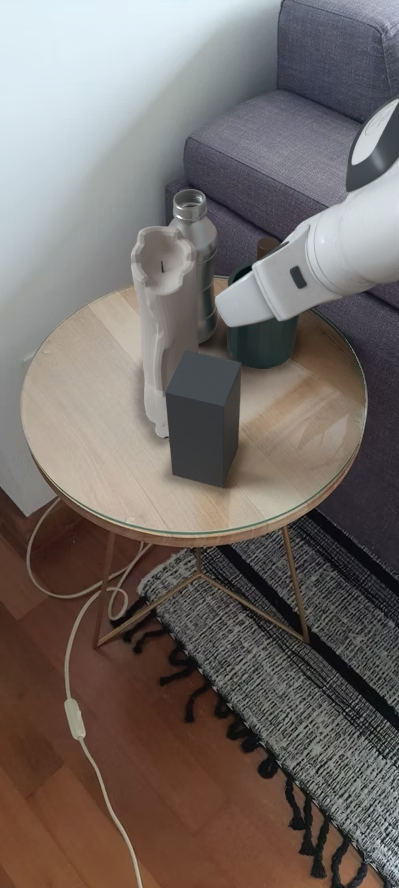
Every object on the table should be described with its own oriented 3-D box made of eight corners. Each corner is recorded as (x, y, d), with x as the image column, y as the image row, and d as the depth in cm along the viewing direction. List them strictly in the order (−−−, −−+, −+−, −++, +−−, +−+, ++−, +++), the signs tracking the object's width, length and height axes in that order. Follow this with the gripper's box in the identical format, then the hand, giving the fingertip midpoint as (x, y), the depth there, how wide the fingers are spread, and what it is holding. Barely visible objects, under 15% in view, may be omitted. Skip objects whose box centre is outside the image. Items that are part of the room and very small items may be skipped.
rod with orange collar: (260, 319, 90) (265, 228, 79) (284, 333, 89) (293, 241, 78) (240, 335, 89) (243, 244, 78) (264, 350, 87) (271, 258, 76)
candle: (143, 439, 81) (125, 308, 65) (144, 355, 89) (128, 221, 73) (204, 436, 81) (201, 305, 65) (200, 352, 89) (196, 218, 73)
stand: (238, 447, 80) (241, 362, 69) (223, 488, 76) (224, 406, 65) (189, 435, 81) (185, 349, 70) (172, 475, 77) (164, 391, 66)
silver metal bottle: (161, 343, 90) (149, 209, 74) (181, 310, 94) (174, 176, 78) (207, 356, 89) (205, 222, 73) (225, 322, 92) (227, 188, 77)
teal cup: (301, 329, 91) (309, 268, 84) (285, 375, 86) (292, 315, 78) (237, 315, 93) (239, 254, 85) (218, 360, 88) (218, 300, 80)
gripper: (387, 187, 73) (311, 225, 86) (245, 269, 66) (184, 297, 78) (411, 242, 75) (333, 271, 87) (274, 328, 67) (210, 346, 80)
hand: (262, 284), depth 83 cm, fingers closed on rod with orange collar, 2 cm apart
